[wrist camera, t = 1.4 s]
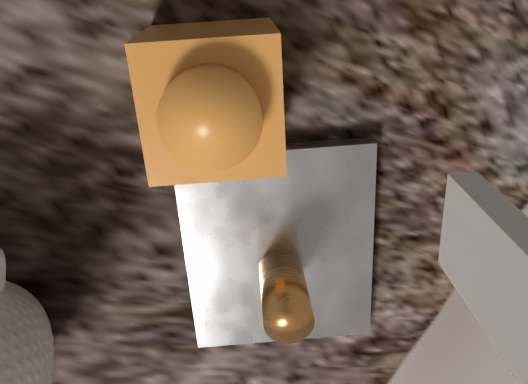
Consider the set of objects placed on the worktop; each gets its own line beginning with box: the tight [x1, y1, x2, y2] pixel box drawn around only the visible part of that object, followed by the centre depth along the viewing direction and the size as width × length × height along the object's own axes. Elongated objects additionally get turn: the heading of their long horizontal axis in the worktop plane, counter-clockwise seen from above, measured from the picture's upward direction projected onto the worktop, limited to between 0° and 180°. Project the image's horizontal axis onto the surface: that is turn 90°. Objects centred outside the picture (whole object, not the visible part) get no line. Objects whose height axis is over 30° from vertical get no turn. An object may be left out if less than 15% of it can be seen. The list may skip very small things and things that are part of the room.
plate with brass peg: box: [174, 137, 377, 348], centre depth 30 cm, size 14×12×7 cm
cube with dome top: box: [125, 17, 287, 187], centre depth 24 cm, size 6×6×8 cm
